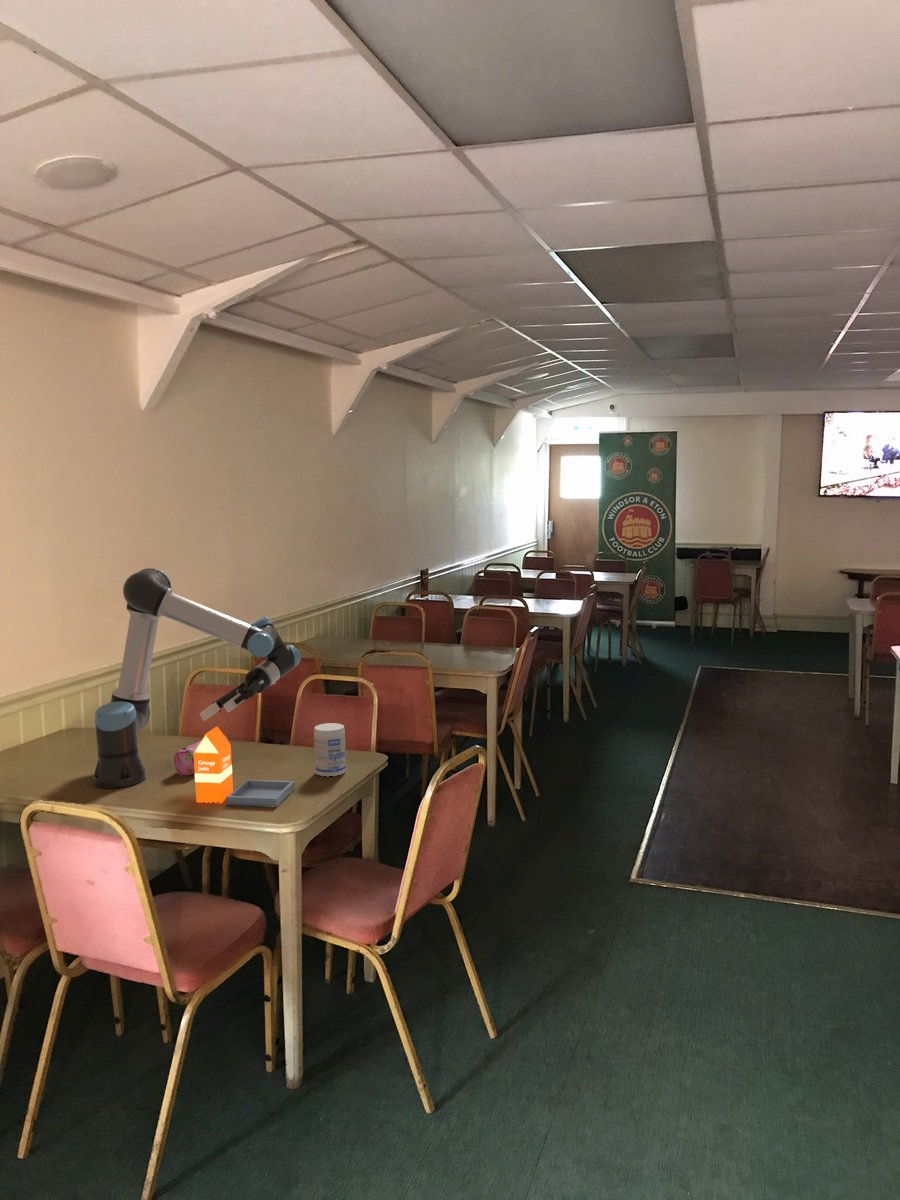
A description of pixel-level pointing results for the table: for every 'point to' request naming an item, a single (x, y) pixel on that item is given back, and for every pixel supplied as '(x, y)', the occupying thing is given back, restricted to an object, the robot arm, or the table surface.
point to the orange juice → (213, 768)
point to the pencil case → (186, 759)
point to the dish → (260, 793)
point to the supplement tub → (329, 749)
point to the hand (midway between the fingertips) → (213, 713)
